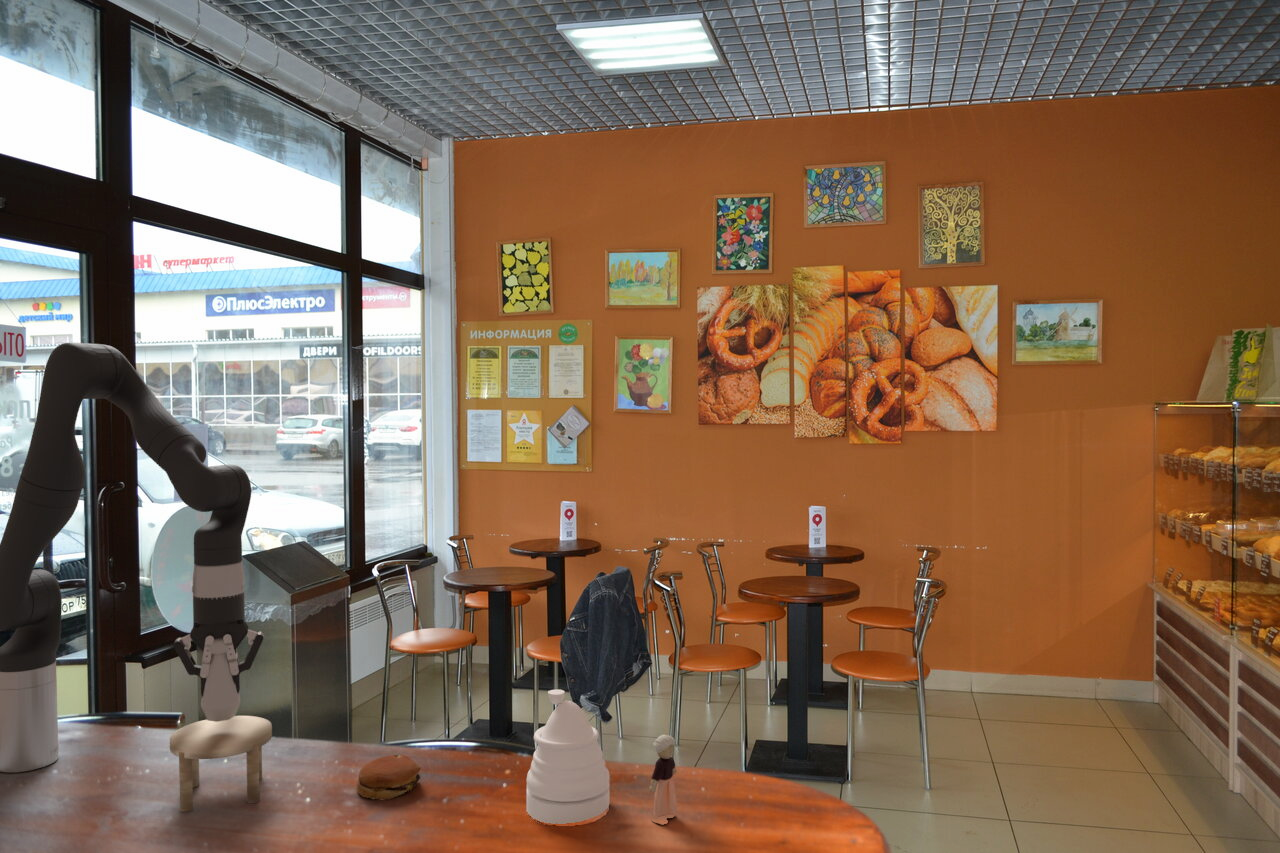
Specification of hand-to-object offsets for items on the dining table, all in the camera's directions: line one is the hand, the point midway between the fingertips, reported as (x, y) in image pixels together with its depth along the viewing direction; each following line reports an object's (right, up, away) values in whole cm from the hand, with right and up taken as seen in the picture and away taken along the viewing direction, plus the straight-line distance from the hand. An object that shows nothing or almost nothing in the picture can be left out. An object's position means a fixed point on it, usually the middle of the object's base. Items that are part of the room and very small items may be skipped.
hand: (220, 697), depth 155 cm
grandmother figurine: (+71, -16, -8) cm, 73 cm away
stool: (0, -16, +1) cm, 16 cm away
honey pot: (+56, -16, -5) cm, 58 cm away
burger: (+26, -16, +2) cm, 31 cm away
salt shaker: (0, -3, 0) cm, 3 cm away
